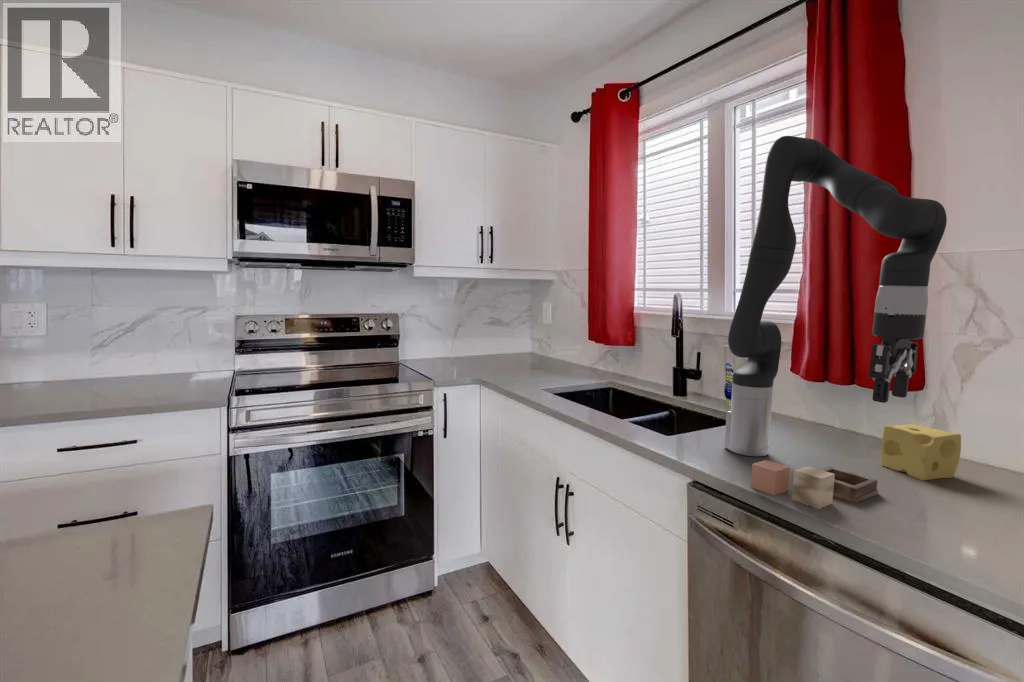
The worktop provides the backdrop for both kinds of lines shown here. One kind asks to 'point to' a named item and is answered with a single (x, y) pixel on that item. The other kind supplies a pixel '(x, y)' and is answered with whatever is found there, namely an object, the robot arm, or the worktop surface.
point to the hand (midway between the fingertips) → (889, 399)
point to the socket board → (852, 485)
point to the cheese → (921, 451)
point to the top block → (770, 477)
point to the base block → (813, 486)
